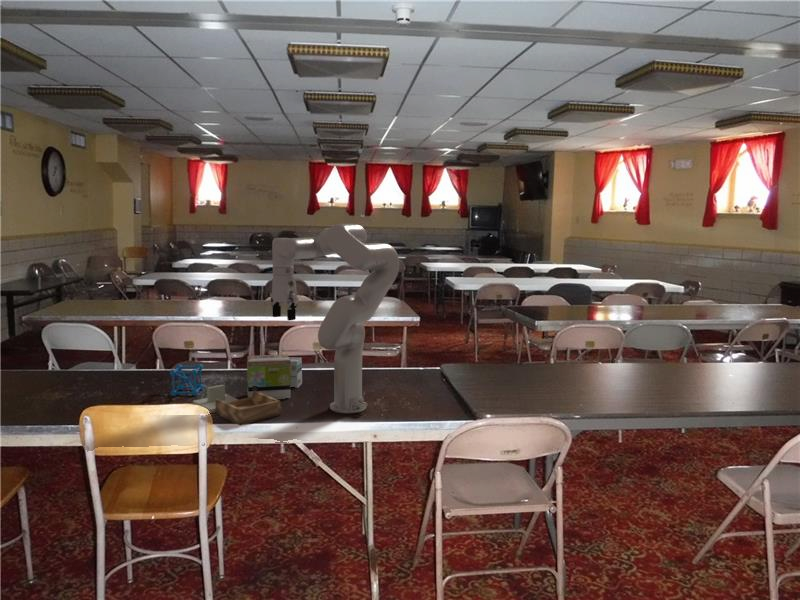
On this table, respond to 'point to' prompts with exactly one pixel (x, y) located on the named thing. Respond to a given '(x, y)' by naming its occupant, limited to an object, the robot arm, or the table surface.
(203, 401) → the cover plate
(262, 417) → the oak box
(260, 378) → the tea box
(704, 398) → the table surface
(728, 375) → the table surface
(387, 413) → the table surface
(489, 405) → the table surface
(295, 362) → the light bulb box
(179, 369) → the molecular structure
